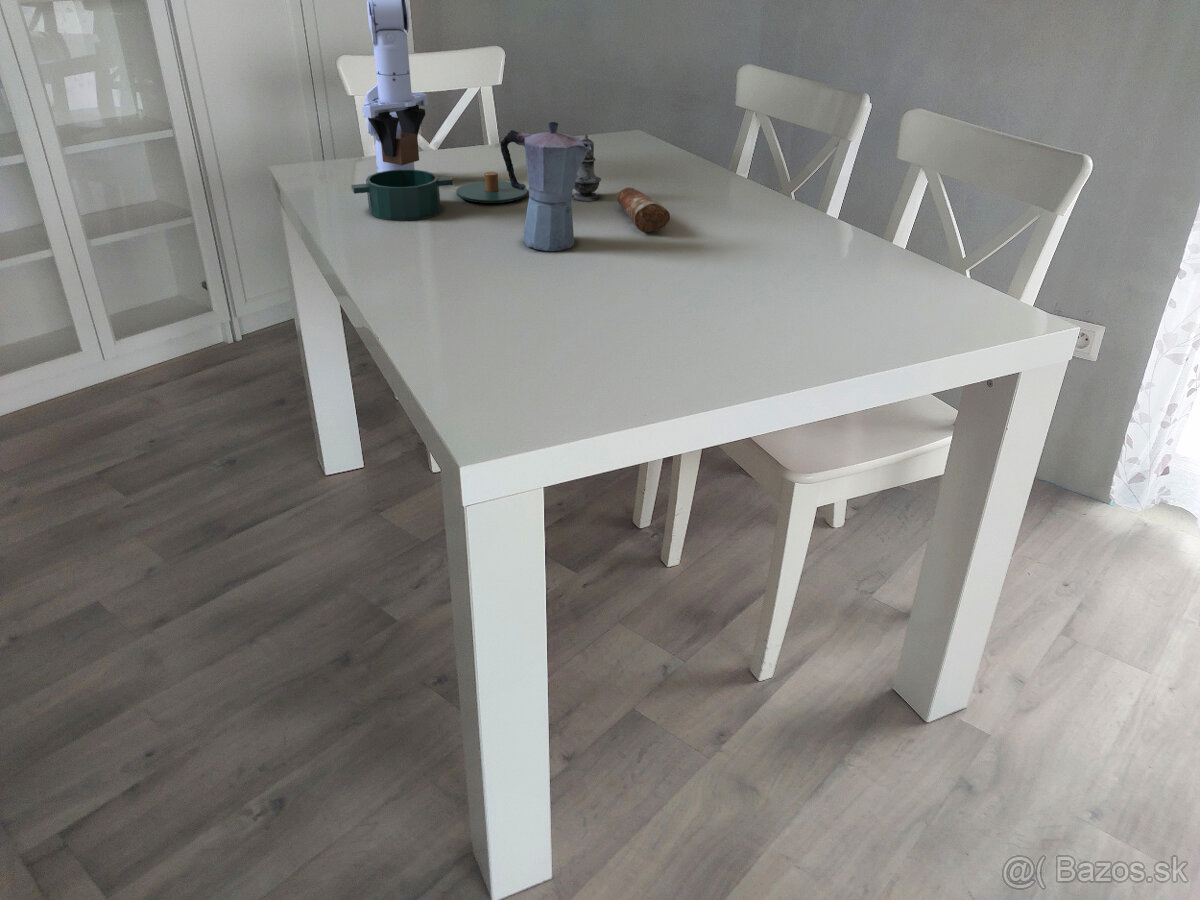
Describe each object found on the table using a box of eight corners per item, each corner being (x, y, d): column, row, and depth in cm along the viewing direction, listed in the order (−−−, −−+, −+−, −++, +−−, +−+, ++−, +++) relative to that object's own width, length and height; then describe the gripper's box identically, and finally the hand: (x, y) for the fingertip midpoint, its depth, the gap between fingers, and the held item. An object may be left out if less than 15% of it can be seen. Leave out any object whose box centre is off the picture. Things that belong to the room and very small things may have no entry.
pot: (349, 205, 176) (345, 173, 172) (444, 196, 182) (442, 166, 179) (362, 225, 165) (358, 191, 162) (462, 215, 172) (460, 182, 169)
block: (382, 161, 168) (380, 135, 166) (400, 156, 172) (398, 130, 169) (402, 165, 166) (399, 138, 164) (419, 160, 170) (417, 134, 167)
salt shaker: (600, 201, 181) (601, 138, 175) (569, 201, 181) (570, 137, 175) (600, 193, 186) (602, 131, 180) (571, 192, 186) (571, 130, 180)
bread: (635, 237, 162) (636, 205, 160) (612, 206, 179) (613, 176, 176) (670, 235, 164) (672, 203, 161) (644, 204, 180) (646, 175, 177)
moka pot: (584, 256, 153) (585, 130, 143) (494, 249, 156) (489, 124, 146) (596, 238, 161) (598, 118, 151) (510, 231, 164) (506, 112, 154)
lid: (448, 189, 186) (447, 167, 184) (514, 183, 191) (513, 162, 188) (467, 208, 175) (466, 185, 173) (537, 202, 180) (536, 179, 178)
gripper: (380, 80, 154) (388, 164, 161) (438, 69, 165) (443, 148, 172) (349, 76, 157) (358, 158, 164) (408, 65, 168) (414, 143, 175)
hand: (400, 153), depth 168 cm, fingers closed on block, 4 cm apart
